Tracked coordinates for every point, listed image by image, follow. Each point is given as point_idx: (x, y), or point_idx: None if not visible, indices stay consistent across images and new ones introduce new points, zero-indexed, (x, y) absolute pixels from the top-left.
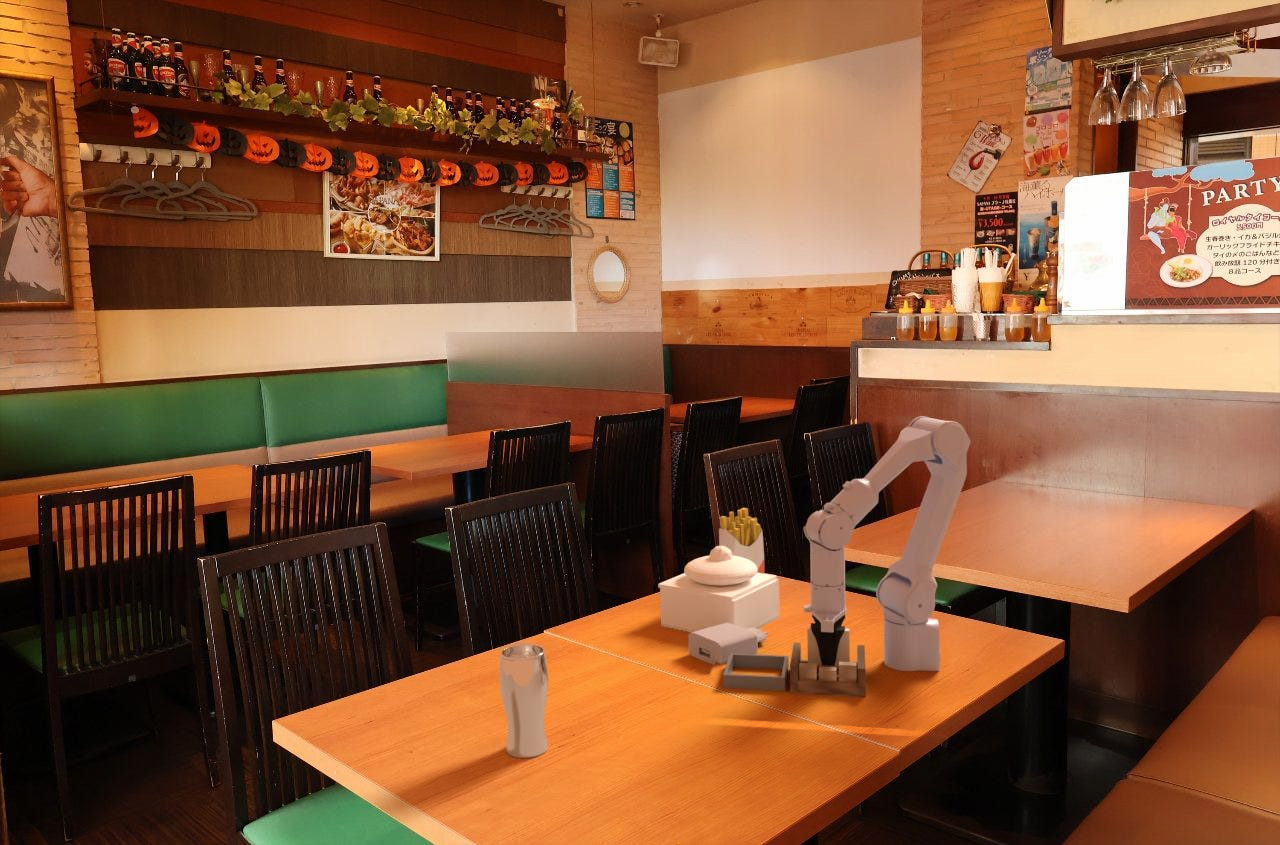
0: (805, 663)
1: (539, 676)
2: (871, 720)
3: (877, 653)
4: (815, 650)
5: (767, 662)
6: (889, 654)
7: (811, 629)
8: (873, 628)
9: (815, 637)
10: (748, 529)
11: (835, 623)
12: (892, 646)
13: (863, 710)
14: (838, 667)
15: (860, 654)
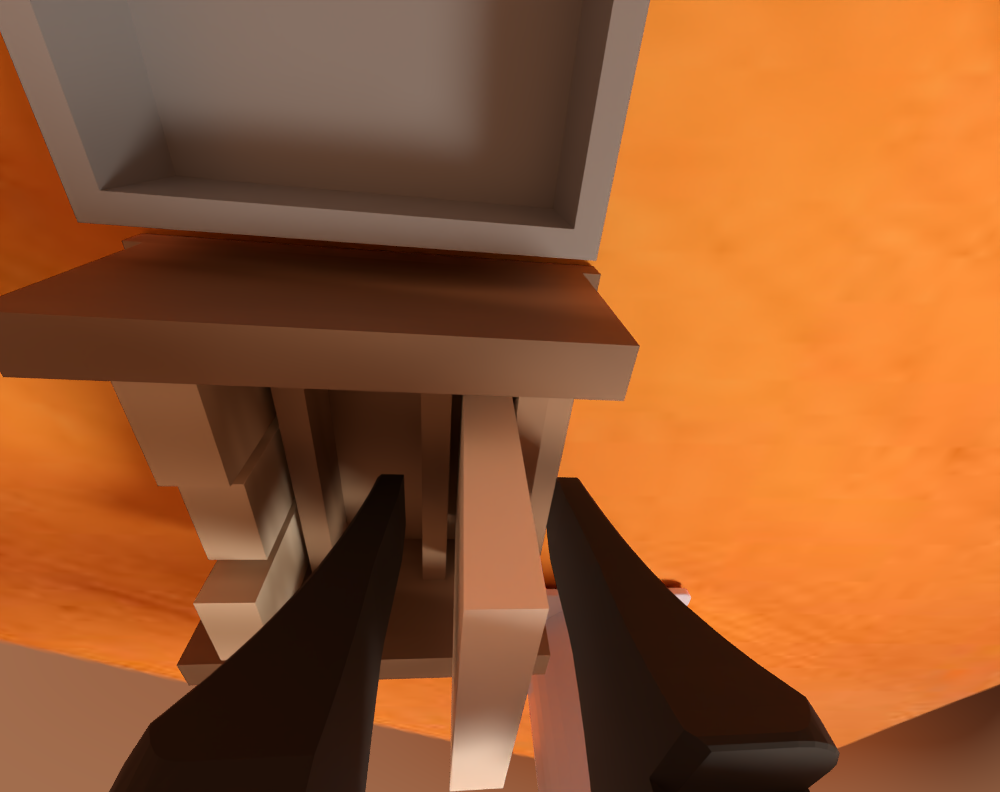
0: (194, 420)
1: None
2: (66, 553)
3: (740, 575)
4: (461, 489)
5: (590, 51)
6: (573, 665)
7: (143, 761)
8: (991, 569)
9: (229, 660)
10: None
11: (602, 756)
12: (567, 715)
13: (154, 534)
14: (434, 518)
15: (404, 667)
